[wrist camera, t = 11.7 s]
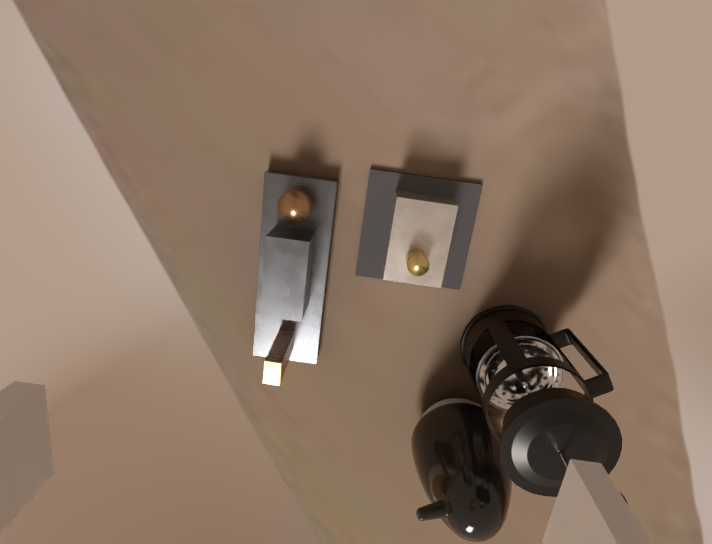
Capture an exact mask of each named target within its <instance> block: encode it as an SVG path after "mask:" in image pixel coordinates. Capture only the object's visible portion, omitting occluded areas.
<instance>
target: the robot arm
mask: <svg viewBox="0 0 712 544" xmlns="http://www.w3.org/2000/svg"><path fill="white" fill-rule="evenodd" d="M53 475H54V465H53V456H52V447H51V437H50V428H49V419H48V409H47V399H46V390H45V385H38V384H32V383H24V382H17V381H14V382H13V383H11V384H10V385H9V386H7V387H6V388H5V389H3V390H2V391H0V533H1V532H2V531H3V530H4V529H5V527H7V525H8V524H9V523H10V522H11V521H12V520H13V519H14V518H15V517H16V516H17V514H18V513H19V512H20V511H21V510H22V509H23V508H24V507H25V506H26V504H27V503H28V502H29V501H30V500H31V499H32V498H33V497H34V496H35V495H36V493H37V492H38V491H39V490H40V489H41V488H42V487H43V486H44V485H45V484H46V482H47V481H48V480H49V479H50V478H51V477H52V476H53ZM542 544H652V542H651V541H650V539H649V538H648V536H647V534H646V533H645V531H644V530H643V528H642V527H641V525H640V523H639V522H638V520H637V519H636V517H635V516H634V514H633V512H632V511H631V509H630V508H629V506H628V505H627V503H626V501H625V500H624V498H623V497H622V495H621V494H620V492H619V490H618V489H617V487H616V486H615V484H614V483H613V481H612V479H611V478H610V476H609V475H608V473H607V472H606V470H605V468H604V467H603V465H602V464H601V463H596V462H589V461H582V460H575V459H570V461H569V464H568V467H567V470H566V473H565V476H564V479H563V482H562V485H561V488H560V490H559V493H558V496H557V499H556V502H555V505H554V508H553V511H552V514H551V516H550V519H549V522H548V525H547V528H546V531H545V534H544V537H543V540H542Z"/></svg>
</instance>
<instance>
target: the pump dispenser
mask: <svg viewBox="0 0 712 544" xmlns="http://www.w3.org/2000/svg"><path fill="white" fill-rule="evenodd" d="M488 415H489V418H490V421H491V424H492V426H493V427H494V428H495V429H496V430H497V431H498V432H500V433H501V434H502V428H503V427H502V425H501V424H500V422H499V421H498V419H497V418H496V417H495V416H494V415H493V414H492V413H491V412H489V411H488ZM499 443H500V442H499V441H498V440H497V439H496V438H495V437H494V435H493V434H492V432H491V431H490V429H489V427H488V424H487V421H486V418H485V415H484V412H483V409H482V407H481V405H479V404H477V403H476V402H473V401H471V400H467V399H462V398H449V399H445V400H442V401H439V402H437V403H435V404H433V405H432V406H431V407H429V408H428V409H427V410H426V411H425V412H424V414H423V415H422V416H421V418H420V420H419V422H418V423H417V425H416V427H415V429H414V431H413V435H412V454H413V459H414V463H415V466H416V470H417V473H418V476H419V479H420V481H421V484H422V486H423V488H424V491H425V493H426V495H427V497H428V498H429V500H430V502H431V504H429V505H426V506H423V507H420V508H418V509H417V512H416V514H417V518H418V519H419V520H420V521H426V520H432V519H438V518H441V519H442V520H443V522H444V523H445V524H446V525H447V526H448V527H449V528H450V529H451V530H452V531H453V532H454V533H455V534H457V535H458V536H459V537H461V538H463V539H465V540H468V541H472V542H482V541H486V540H488V539H490V538H492V537H494V536H495V535H496V534H497V533H498V532H499V531H500V529H501V527H502V526H503V524H504V521H505V519H506V516H507V513H508V509H509V504H510V498H511V490H512V480H511V479H510V478H509V477H508V476H507V474H506V473H505V471H504V469H503V467H502V464H501V461H500V458H499Z"/></svg>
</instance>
